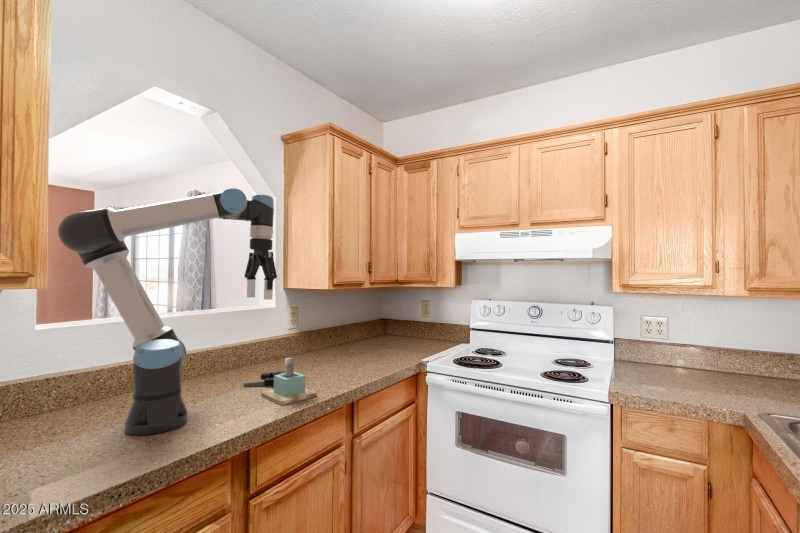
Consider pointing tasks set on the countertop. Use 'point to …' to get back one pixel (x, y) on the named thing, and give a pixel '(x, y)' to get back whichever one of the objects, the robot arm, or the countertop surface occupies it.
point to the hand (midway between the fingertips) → (259, 298)
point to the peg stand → (285, 400)
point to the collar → (289, 384)
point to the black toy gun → (267, 382)
